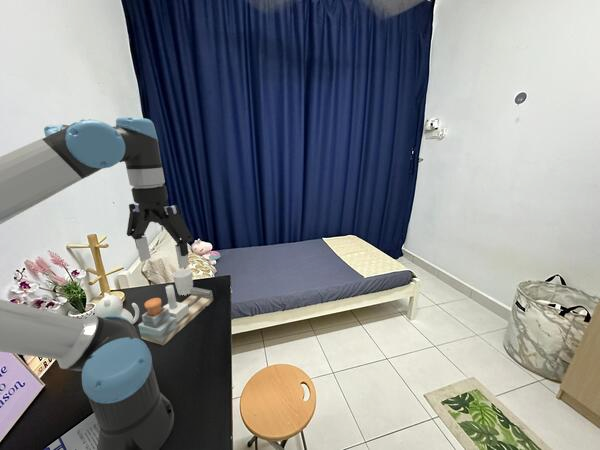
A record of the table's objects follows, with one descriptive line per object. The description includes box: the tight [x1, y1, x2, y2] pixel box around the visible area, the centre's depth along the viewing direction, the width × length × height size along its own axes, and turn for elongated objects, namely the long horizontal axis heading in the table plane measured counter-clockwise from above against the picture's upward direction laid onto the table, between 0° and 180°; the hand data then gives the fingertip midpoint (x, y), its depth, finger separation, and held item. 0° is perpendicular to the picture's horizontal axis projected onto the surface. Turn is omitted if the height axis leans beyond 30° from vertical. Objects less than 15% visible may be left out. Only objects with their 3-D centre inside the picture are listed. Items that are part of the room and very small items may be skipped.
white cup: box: [172, 268, 194, 297], centre depth 115 cm, size 8×8×10 cm
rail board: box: [137, 286, 214, 346], centre depth 97 cm, size 27×10×10 cm, turn 161°
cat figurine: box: [94, 292, 140, 325], centre depth 91 cm, size 9×12×15 cm
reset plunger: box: [143, 297, 163, 316], centre depth 86 cm, size 5×5×7 cm
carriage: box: [163, 284, 189, 322], centre depth 93 cm, size 6×8×13 cm
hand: (164, 262), depth 68 cm, fingers open, 13 cm apart
